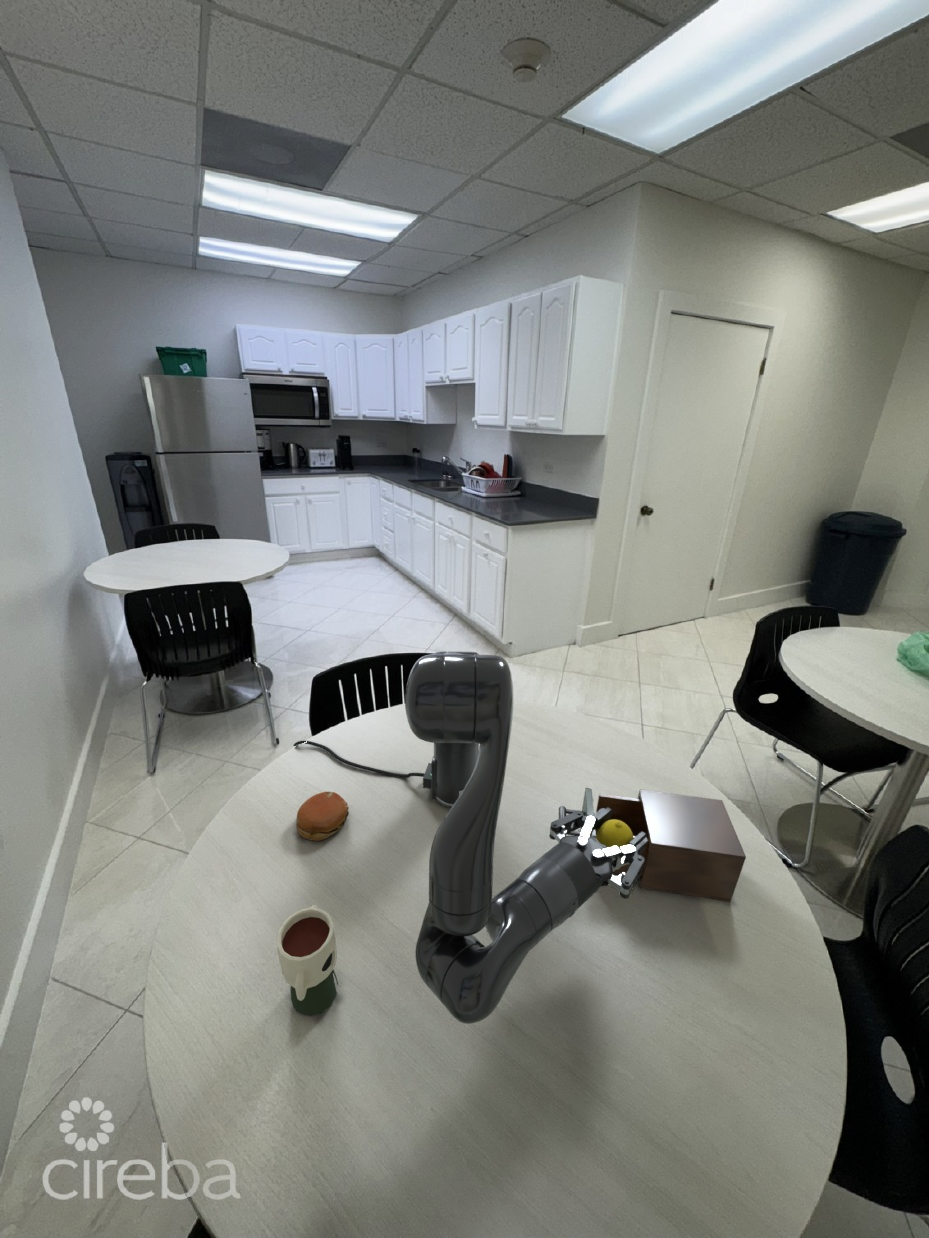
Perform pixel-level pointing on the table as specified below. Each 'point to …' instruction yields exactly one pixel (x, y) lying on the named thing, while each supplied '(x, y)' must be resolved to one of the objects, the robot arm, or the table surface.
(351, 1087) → the table surface
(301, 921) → the character mug
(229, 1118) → the table surface
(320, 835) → the burger
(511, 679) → the robot arm
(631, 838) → the lemon
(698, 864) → the cabinet
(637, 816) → the drawer
